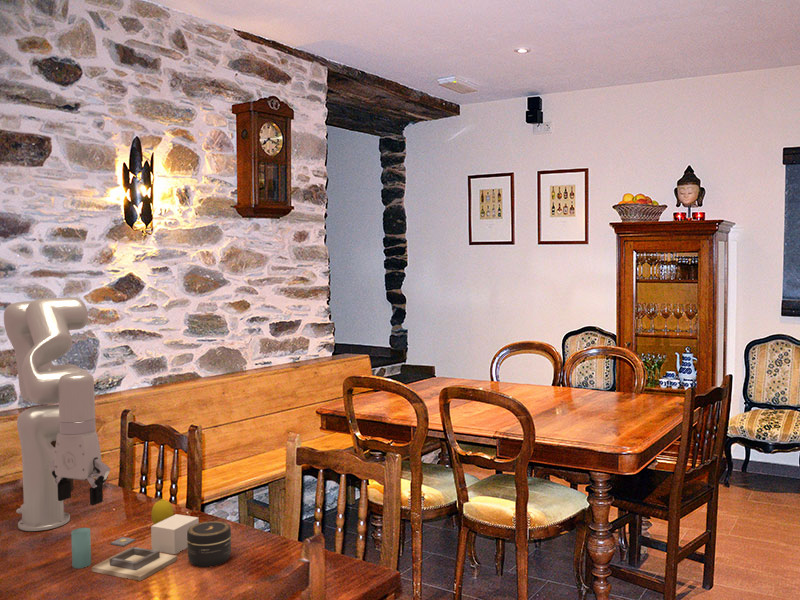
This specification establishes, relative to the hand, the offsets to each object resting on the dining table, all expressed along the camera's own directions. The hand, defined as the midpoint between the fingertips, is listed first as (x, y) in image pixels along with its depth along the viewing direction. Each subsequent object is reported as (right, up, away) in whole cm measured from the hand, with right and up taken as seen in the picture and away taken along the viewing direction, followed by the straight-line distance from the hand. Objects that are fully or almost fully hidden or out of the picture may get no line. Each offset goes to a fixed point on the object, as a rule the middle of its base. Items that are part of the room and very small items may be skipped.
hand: (80, 501), depth 165 cm
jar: (+29, -15, +3) cm, 33 cm away
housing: (+18, -14, +12) cm, 26 cm away
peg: (0, -15, +1) cm, 15 cm away
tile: (+4, -14, +14) cm, 21 cm away
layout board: (+13, -15, 0) cm, 19 cm away
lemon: (+11, -14, +23) cm, 29 cm away
